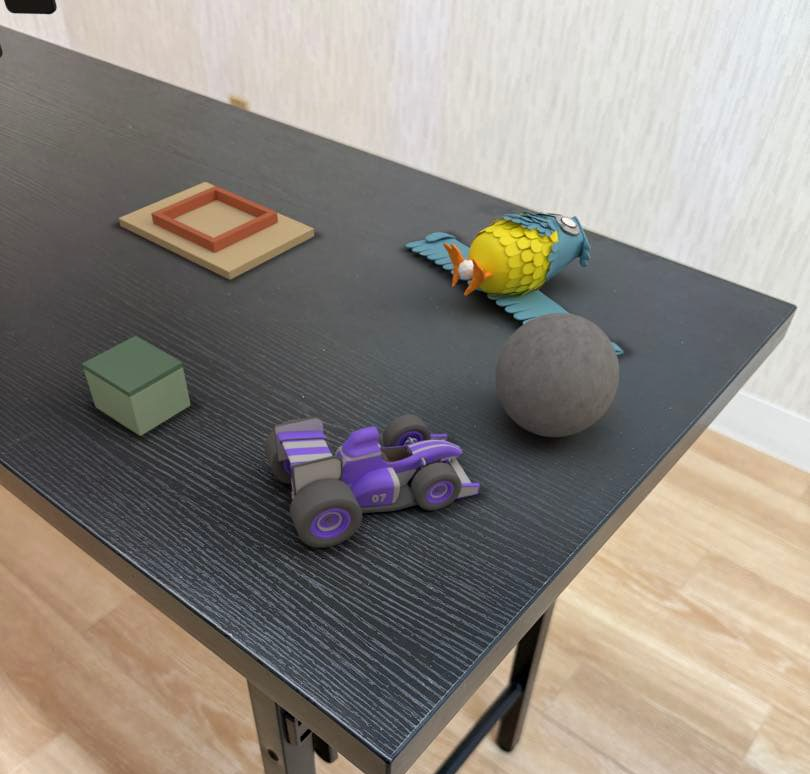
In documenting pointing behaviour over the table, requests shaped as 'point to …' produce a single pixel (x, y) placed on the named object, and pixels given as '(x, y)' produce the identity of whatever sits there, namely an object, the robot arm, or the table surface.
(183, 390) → the green lidded box
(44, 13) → the robot arm
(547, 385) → the decorative ball
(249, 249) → the wooden board with frame
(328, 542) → the toy race car
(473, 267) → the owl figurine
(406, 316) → the table surface
